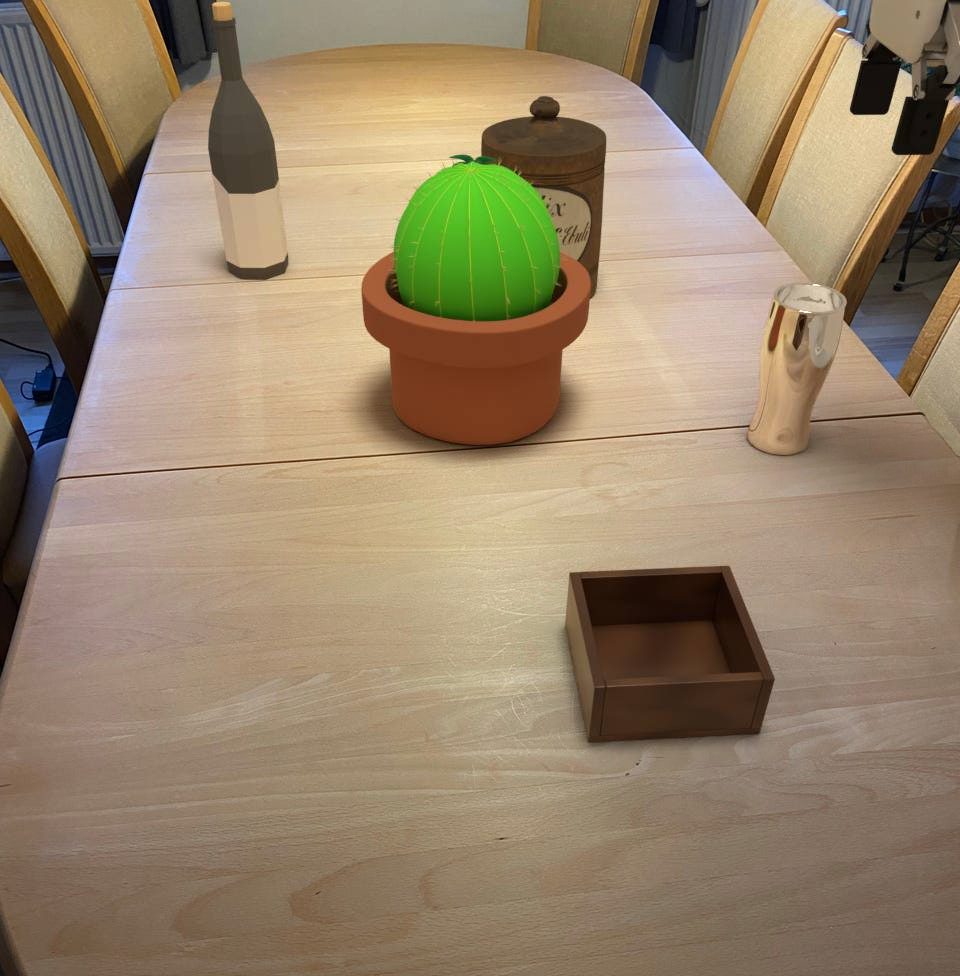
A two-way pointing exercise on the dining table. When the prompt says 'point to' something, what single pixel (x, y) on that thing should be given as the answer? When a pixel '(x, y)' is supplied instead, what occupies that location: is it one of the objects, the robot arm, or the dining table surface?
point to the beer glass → (795, 364)
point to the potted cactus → (476, 306)
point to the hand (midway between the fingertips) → (888, 132)
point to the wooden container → (558, 173)
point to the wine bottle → (244, 166)
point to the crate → (665, 654)
